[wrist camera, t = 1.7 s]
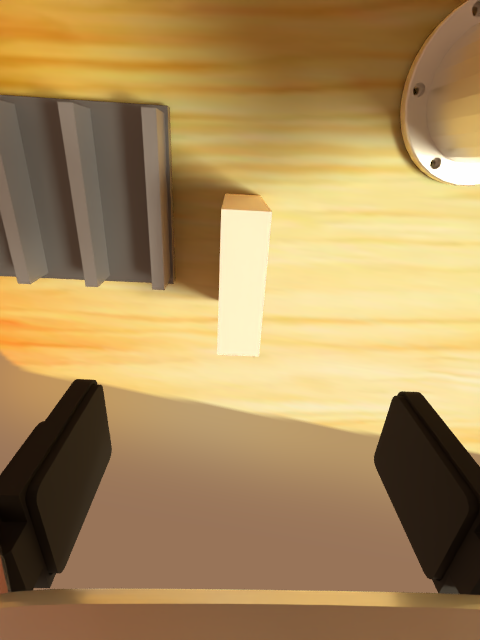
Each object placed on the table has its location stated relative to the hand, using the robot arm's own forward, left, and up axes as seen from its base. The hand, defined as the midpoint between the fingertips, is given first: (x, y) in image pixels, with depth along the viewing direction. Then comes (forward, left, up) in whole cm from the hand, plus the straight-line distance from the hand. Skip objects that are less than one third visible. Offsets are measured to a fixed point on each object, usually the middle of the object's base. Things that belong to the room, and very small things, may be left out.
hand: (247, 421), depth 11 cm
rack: (+15, -4, -22) cm, 27 cm away
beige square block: (0, 0, -22) cm, 22 cm away
